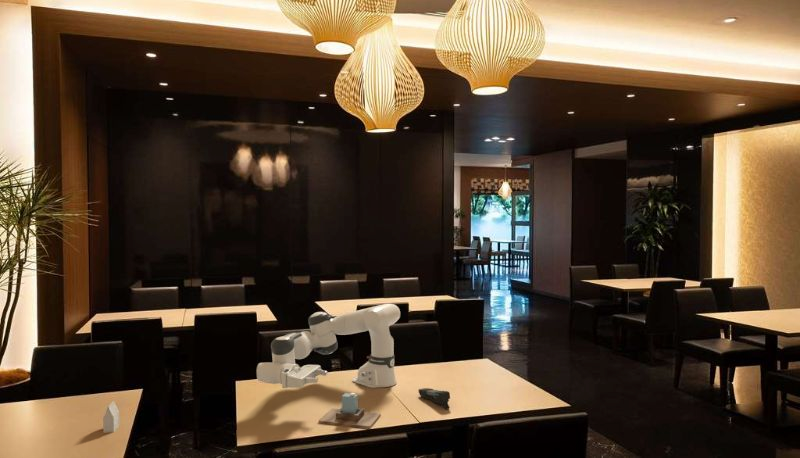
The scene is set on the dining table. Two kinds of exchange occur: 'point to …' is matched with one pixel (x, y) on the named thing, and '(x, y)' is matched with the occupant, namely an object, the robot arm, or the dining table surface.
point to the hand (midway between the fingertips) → (322, 376)
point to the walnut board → (350, 418)
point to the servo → (350, 403)
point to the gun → (436, 396)
